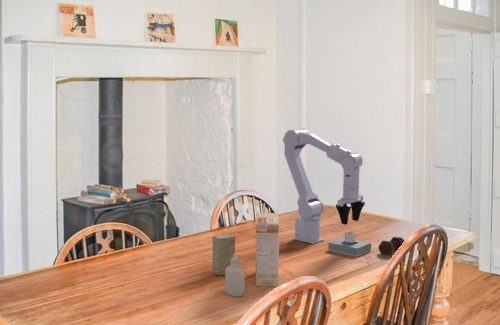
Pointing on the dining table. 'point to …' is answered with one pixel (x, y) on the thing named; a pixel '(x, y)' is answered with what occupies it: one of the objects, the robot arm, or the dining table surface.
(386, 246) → the bolt
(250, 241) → the dining table surface
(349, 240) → the pin
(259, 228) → the coffeecake box
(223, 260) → the skincare box
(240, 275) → the eye dropper bottle
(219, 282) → the dining table surface
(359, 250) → the hole block
